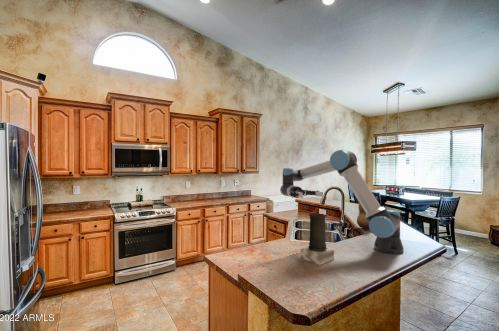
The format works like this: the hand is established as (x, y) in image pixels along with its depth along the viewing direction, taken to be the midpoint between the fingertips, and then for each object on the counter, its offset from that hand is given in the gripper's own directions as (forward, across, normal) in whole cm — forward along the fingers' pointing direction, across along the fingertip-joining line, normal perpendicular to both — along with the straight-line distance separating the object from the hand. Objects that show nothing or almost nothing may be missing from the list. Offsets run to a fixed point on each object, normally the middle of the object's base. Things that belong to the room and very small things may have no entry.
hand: (312, 194), depth 147 cm
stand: (+13, +6, -32) cm, 35 cm away
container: (+13, +6, -27) cm, 31 cm away
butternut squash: (-31, -68, -32) cm, 82 cm away
